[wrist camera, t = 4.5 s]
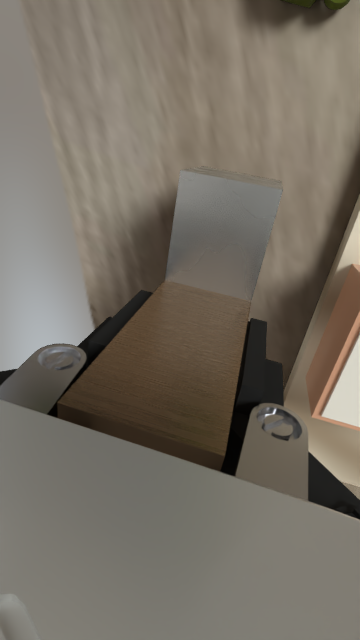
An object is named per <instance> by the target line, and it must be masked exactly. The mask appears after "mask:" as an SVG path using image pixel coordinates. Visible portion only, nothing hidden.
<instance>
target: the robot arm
mask: <svg viewBox="0 0 360 640" xmlns="http://www.w3.org/2000/svg"><path fill="white" fill-rule="evenodd" d="M152 294H153V293H151V292H147V291H143V290H141V291H140V292H139V293H138V294H137V295H136V296H135V297H134V298H133V299H132V300H131V301H130V302H129V303H127V304H126V305H125V306H124V307H123V308H122V309H121V310H120V311H119V312H118V313H117V314H116V315H115V316H114V317H113V318H112V317H109V318H107V319H106V320H105V321H104V322H103V323H102V324H101V325H100V326H99V327H97V328H96V329H95V330H94V331H93V332H92V333H91V334H90V335H89V336H88V337H87V338H86V339H85V340H84V341H82V342H81V343H80V344H79V345H78V346H74V345H70V344H52V345H47V346H45V347H42V348H40V349H39V350H37V351H36V352H35V353H34V354H32V355H31V356H30V357H29V358H28V359H27V360H26V361H25V362H24V363H23V364H22V365H21V366H20V367H19V368H18V369H13V370H8V371H2V372H0V640H360V500H359V499H358V498H357V497H356V496H355V495H354V494H353V493H352V492H351V491H350V490H348V489H347V488H346V487H345V486H344V485H343V484H342V483H341V482H340V481H339V480H338V479H337V478H336V477H335V476H334V475H333V474H332V473H331V472H330V471H329V470H328V469H327V468H326V467H325V466H324V465H323V464H322V463H321V462H319V461H318V460H317V459H316V458H315V457H314V456H313V455H312V454H311V453H310V452H309V451H308V429H307V426H306V424H305V423H304V421H303V420H302V419H301V418H300V417H299V416H298V415H297V414H296V413H294V412H293V411H291V410H290V409H288V408H286V407H284V396H283V373H282V364H281V363H278V362H274V361H271V360H267V359H265V358H266V333H267V322H265V321H261V320H257V319H253V318H251V320H250V322H249V321H248V323H247V328H246V334H245V340H244V346H243V352H242V358H241V364H240V370H239V376H238V382H237V388H236V394H235V400H234V406H233V412H232V417H231V423H230V429H229V435H228V441H227V447H226V453H225V458H224V461H223V464H222V467H221V470H220V471H217V470H214V469H211V468H208V467H205V466H202V465H199V464H195V463H192V462H189V461H186V460H183V459H180V458H177V457H174V456H171V455H168V454H165V453H162V452H159V451H156V450H153V449H150V448H147V447H144V446H141V445H138V444H134V443H131V442H128V441H125V440H122V439H119V438H116V437H113V436H110V435H107V434H104V433H101V432H98V431H95V430H92V429H89V428H86V427H83V426H80V425H77V424H74V423H71V422H68V421H64V420H61V419H58V409H57V402H58V401H59V400H60V399H61V398H62V397H63V395H64V394H65V393H66V392H67V391H68V390H69V389H70V388H71V386H72V385H73V384H74V383H75V382H76V381H77V380H78V378H79V377H80V376H81V375H82V374H83V373H84V372H85V370H86V369H87V368H88V367H89V366H90V365H91V364H92V362H93V361H94V360H95V359H96V358H97V357H98V356H99V354H100V353H101V352H102V351H103V350H104V349H105V348H106V347H107V345H108V344H109V343H110V342H111V341H112V340H113V339H114V337H115V336H116V335H117V334H118V333H119V332H120V331H121V329H122V328H123V327H124V326H125V325H126V324H127V323H128V321H129V320H130V319H131V318H132V317H133V316H134V315H135V313H136V312H137V311H138V310H139V309H140V308H141V307H142V306H143V304H144V303H145V302H146V301H147V300H148V299H149V298H150V296H151V295H152Z"/></svg>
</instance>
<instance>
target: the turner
mask: <svg viewBox="0 0 360 640" xmlns="http://www.w3.org/2000/svg"><path fill="white" fill-rule="evenodd" d="M282 191H283V187H282V182H281V181H279V180H274V179H269V178H264V177H258V176H253V175H248V174H242V173H237V172H232V171H226V170H221V169H216V168H211V167H205V166H201V167H195V168H189V169H184V170H181V171H180V178H179V185H178V192H177V199H176V206H175V213H174V220H173V227H172V234H171V241H170V248H169V255H168V262H167V269H166V276H165V280H164V282H163V283H162V284H161V285H160V286H159V287H158V288H157V290H156V291H155V292H154V293H153V294H152V295H151V296H150V298H149V299H148V300H147V301H146V302H145V303H144V304H143V306H142V307H141V308H140V309H139V310H138V311H137V312H136V313H135V315H134V316H133V317H132V318H131V319H130V320H129V321H128V323H127V324H126V325H125V326H124V327H123V328H122V329H121V331H120V332H119V333H118V334H117V335H116V336H115V337H114V339H113V340H112V341H111V342H110V343H109V344H108V345H107V347H106V348H105V349H104V350H103V351H102V352H101V353H100V354H99V356H98V357H97V358H96V359H95V360H94V361H93V362H92V364H91V365H90V366H89V367H88V368H87V369H86V370H85V372H84V373H83V374H82V375H81V376H80V377H79V378H78V380H77V381H76V382H75V383H74V384H73V385H72V386H71V388H70V389H69V390H68V391H67V392H66V393H65V394H64V395H63V397H62V398H61V399H60V400H59V401H58V402H57V409H58V419H61V420H64V421H68V422H71V423H74V424H77V425H80V426H83V427H86V428H89V429H92V430H95V431H98V432H101V433H104V434H107V435H110V436H113V437H116V438H119V439H122V440H125V441H128V442H131V443H134V444H138V445H141V446H144V447H147V448H150V449H153V450H156V451H159V452H162V453H165V454H168V455H171V456H174V457H177V458H180V459H183V460H186V461H189V462H192V463H195V464H199V465H202V466H205V467H208V468H211V469H214V470H217V471H220V470H221V467H222V464H223V461H224V458H225V453H226V447H227V441H228V435H229V429H230V423H231V417H232V412H233V406H234V400H235V394H236V388H237V382H238V376H239V370H240V364H241V358H242V352H243V346H244V340H245V334H246V328H247V323H248V317H249V311H250V305H251V300H252V296H253V293H254V289H255V286H256V282H257V279H258V275H259V272H260V268H261V265H262V261H263V258H264V254H265V251H266V247H267V244H268V240H269V237H270V233H271V230H272V226H273V223H274V219H275V216H276V212H277V209H278V205H279V202H280V198H281V195H282Z"/></svg>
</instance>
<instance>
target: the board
mask: <svg viewBox="0 0 360 640" xmlns="http://www.w3.org/2000/svg"><path fill="white" fill-rule="evenodd" d="M352 264H357V265H360V194H359V197H358V200H357V202H356V205H355V207H354V210H353V213H352V215H351V218H350V220H349V223H348V226H347V228H346V231H345V233H344V236H343V239H342V241H341V244H340V246H339V249H338V252H337V254H336V257H335V259H334V262H333V265H332V267H331V270H330V272H329V275H328V278H327V280H326V283H325V285H324V288H323V291H322V293H321V296H320V298H319V301H318V304H317V306H316V309H315V311H314V314H313V317H312V319H311V322H310V324H309V327H308V330H307V332H306V335H305V337H304V340H303V343H302V345H301V348H300V350H299V353H298V356H297V358H296V361H295V363H294V366H293V369H292V371H291V374H290V376H289V379H288V382H287V384H286V387H285V389H284V392H283V396H284V407H286V408H288V409H290V410H291V411H293V412H294V413H296V414H297V415H298V416H299V417H300V418H301V419H302V420H303V421H304V423H305V424H306V426H307V429H308V451H309V452H310V453H311V454H312V455H313V456H314V457H315V458H316V459H317V460H318V461H319V462H321V463H322V464H323V465H324V466H325V467H326V468H327V469H328V470H329V471H330V472H331V473H332V474H333V475H334V476H335V477H336V478H337V479H338V480H339V481H342V482H345V483H349V484H352V485H355V486H358V487H360V431H358V430H354V429H351V428H347V427H344V426H340V425H337V424H333V423H330V422H326V421H323V420H320V419H316V418H313V417H311V411H310V404H309V398H308V392H307V385H306V379H305V377H306V375H307V372H308V370H309V367H310V365H311V362H312V360H313V358H314V355H315V353H316V350H317V348H318V345H319V343H320V341H321V338H322V336H323V333H324V331H325V328H326V326H327V324H328V321H329V319H330V316H331V314H332V311H333V309H334V307H335V304H336V302H337V299H338V297H339V294H340V292H341V290H342V287H343V285H344V282H345V280H346V277H347V275H348V273H349V270H350V268H351V265H352Z"/></svg>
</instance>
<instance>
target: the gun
mask: <svg viewBox="0 0 360 640" xmlns="http://www.w3.org/2000/svg"><path fill="white" fill-rule="evenodd" d="M282 1H285V2H289V3H293V4H297V5H300V6H304V7H308V8H310V7H311V6H312V4H313V3H314V2H315V1H316V0H282ZM349 1H350V0H324V2H325V4H326V6H327V7H328V8H330V9H332V10H337V9H341V8H342V7H344V6H345V5H347V4H348V3H349Z"/></svg>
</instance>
